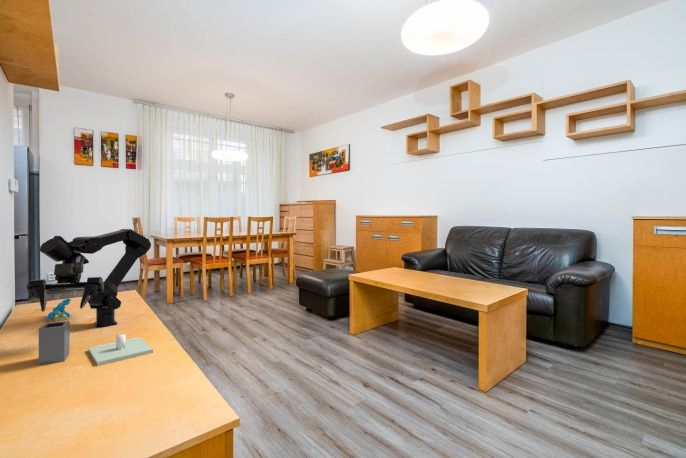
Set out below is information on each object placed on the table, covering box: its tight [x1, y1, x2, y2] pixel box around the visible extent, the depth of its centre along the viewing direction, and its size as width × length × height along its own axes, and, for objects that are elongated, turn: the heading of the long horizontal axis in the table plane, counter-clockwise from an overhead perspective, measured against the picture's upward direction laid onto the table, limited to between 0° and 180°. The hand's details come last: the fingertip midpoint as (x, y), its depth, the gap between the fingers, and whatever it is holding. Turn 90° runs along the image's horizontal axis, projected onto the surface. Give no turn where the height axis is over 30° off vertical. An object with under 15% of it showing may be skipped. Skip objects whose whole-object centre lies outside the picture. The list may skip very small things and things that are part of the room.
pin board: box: [88, 333, 154, 367], centre depth 102 cm, size 14×14×5 cm
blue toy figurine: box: [45, 297, 72, 321], centre depth 133 cm, size 11×6×10 cm
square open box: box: [38, 320, 71, 365], centre depth 96 cm, size 6×6×10 cm
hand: (62, 309), depth 102 cm, fingers open, 9 cm apart
